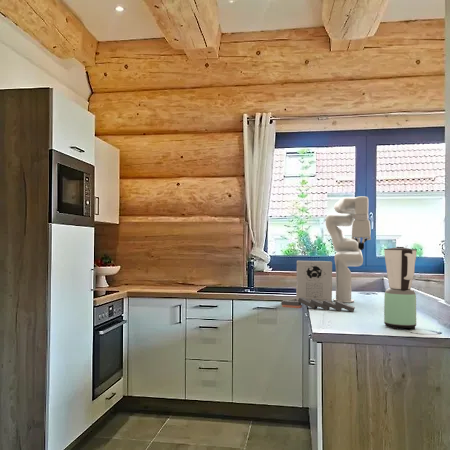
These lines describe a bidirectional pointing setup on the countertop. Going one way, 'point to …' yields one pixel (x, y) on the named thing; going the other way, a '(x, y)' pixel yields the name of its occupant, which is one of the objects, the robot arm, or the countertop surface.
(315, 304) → the domino
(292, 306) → the domino
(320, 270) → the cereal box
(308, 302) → the domino
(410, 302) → the juicer
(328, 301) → the domino
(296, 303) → the domino
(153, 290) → the countertop surface
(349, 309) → the domino
